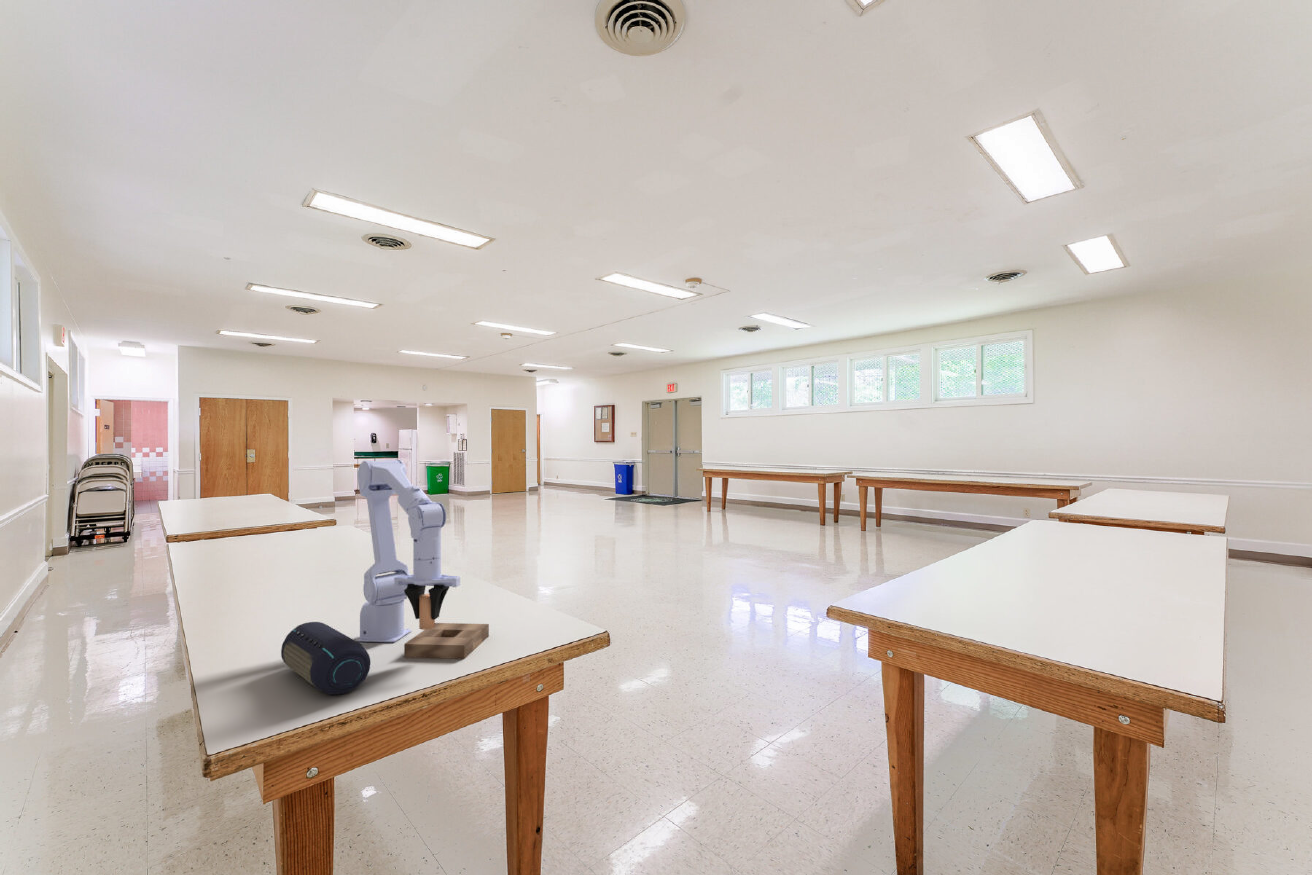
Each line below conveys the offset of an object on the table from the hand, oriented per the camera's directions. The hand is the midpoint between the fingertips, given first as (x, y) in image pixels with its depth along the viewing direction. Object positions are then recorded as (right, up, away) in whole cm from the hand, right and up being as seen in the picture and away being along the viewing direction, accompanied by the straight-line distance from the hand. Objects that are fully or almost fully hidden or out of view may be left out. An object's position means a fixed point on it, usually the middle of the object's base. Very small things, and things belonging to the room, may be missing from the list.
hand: (427, 617), depth 120 cm
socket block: (+2, -9, +7) cm, 11 cm away
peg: (0, -2, 0) cm, 2 cm away
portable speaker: (-17, -9, -11) cm, 22 cm away
